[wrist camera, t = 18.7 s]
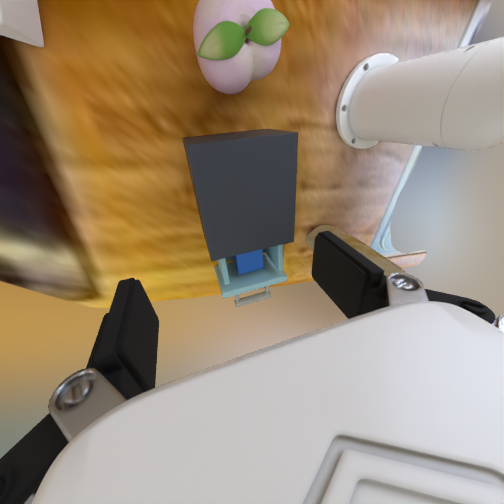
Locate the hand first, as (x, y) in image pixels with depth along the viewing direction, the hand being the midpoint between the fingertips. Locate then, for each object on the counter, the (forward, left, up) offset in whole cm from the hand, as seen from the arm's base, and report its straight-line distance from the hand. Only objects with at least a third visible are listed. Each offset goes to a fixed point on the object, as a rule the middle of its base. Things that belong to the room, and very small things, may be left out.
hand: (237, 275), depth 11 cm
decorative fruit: (-7, -13, -26) cm, 30 cm away
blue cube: (-6, +14, -24) cm, 28 cm away
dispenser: (-6, +3, -26) cm, 27 cm away
